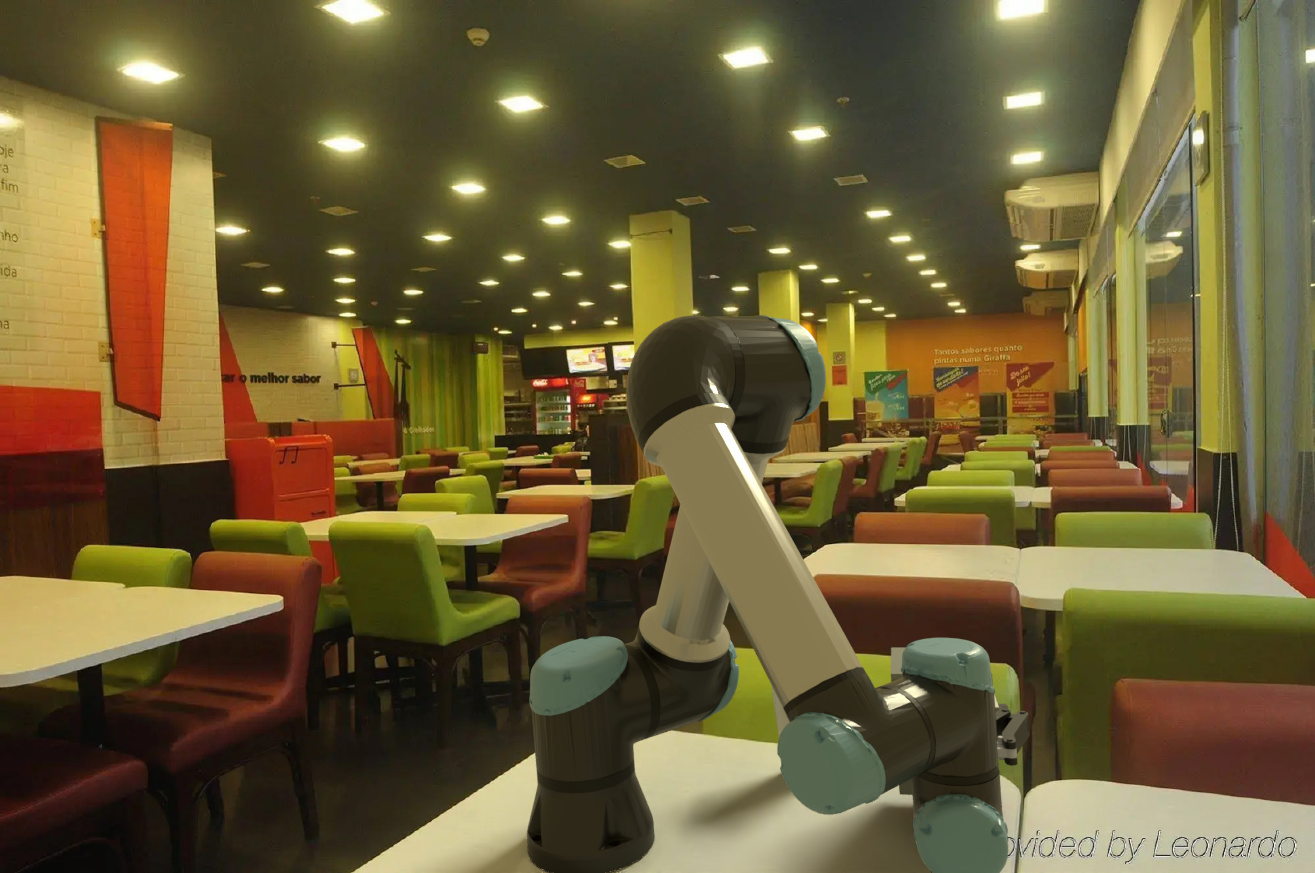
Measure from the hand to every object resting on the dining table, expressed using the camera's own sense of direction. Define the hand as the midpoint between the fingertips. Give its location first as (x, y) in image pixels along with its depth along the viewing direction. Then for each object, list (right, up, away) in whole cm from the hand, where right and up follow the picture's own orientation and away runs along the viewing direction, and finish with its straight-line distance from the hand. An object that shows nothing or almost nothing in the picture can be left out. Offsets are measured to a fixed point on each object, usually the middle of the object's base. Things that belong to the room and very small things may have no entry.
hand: (940, 699), depth 106 cm
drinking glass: (-15, -14, +10) cm, 23 cm away
